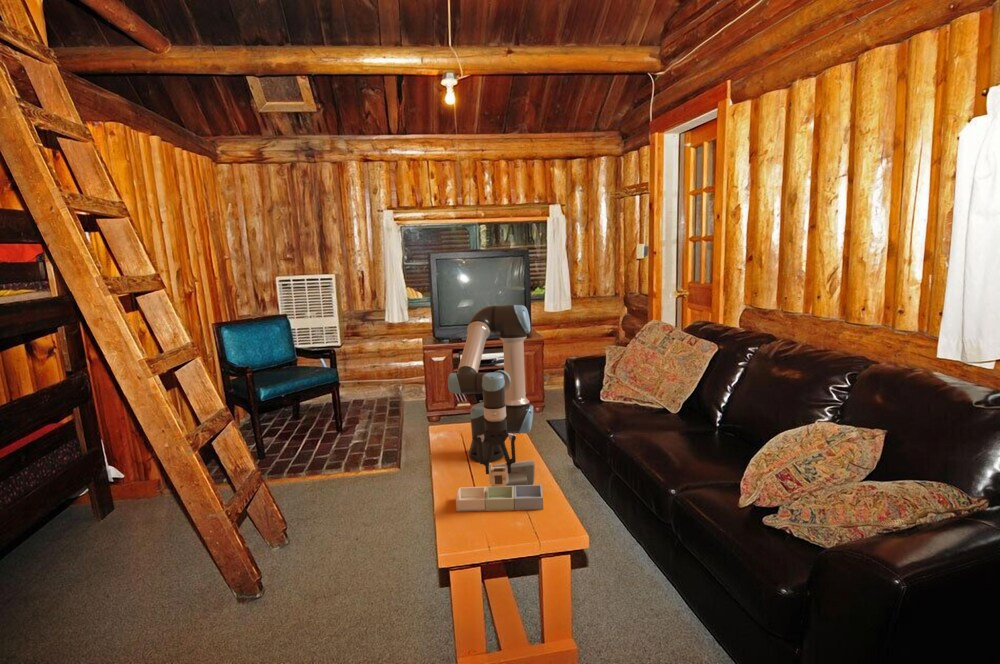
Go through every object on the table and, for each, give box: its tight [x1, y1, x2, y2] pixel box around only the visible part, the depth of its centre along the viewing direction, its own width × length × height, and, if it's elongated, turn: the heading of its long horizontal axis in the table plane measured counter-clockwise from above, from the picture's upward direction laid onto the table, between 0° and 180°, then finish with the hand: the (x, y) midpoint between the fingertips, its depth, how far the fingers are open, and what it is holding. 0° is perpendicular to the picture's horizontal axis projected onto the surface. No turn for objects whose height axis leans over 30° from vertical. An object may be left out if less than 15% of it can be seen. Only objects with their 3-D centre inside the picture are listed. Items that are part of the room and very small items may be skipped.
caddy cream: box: [455, 486, 487, 513], centre depth 186 cm, size 10×10×4 cm
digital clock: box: [492, 460, 536, 486], centre depth 196 cm, size 16×9×11 cm, turn 87°
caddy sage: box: [485, 485, 515, 512], centre depth 185 cm, size 10×10×4 cm
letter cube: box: [490, 466, 506, 487], centre depth 184 cm, size 5×5×5 cm
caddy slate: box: [514, 484, 544, 511], centre depth 185 cm, size 10×10×4 cm
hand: (499, 482), depth 184 cm, fingers closed on letter cube, 5 cm apart
